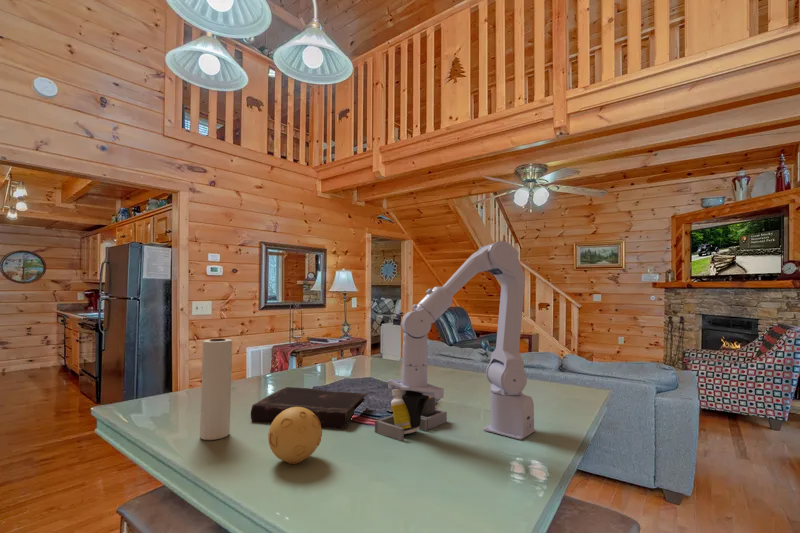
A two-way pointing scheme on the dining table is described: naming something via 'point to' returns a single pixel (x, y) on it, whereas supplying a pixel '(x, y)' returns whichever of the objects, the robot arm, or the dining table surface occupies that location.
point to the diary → (310, 405)
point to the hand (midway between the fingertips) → (414, 425)
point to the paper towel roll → (216, 389)
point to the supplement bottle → (401, 412)
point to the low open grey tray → (428, 421)
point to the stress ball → (294, 434)
